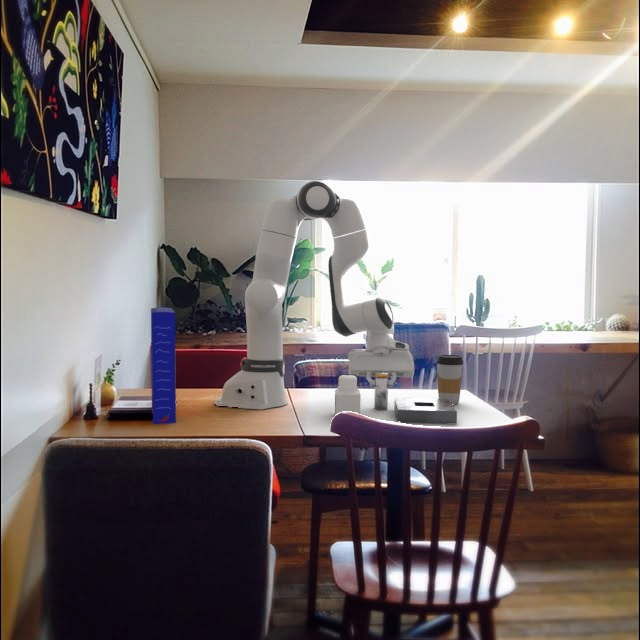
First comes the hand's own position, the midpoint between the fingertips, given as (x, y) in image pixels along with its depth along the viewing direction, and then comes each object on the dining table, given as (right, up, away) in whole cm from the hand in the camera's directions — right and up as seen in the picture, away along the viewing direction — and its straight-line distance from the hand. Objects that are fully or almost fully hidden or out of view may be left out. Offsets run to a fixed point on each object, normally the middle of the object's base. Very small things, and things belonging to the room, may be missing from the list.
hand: (381, 386), depth 183 cm
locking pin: (0, -7, +1) cm, 7 cm away
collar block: (+11, -8, -9) cm, 16 cm away
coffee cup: (+23, -7, +11) cm, 26 cm away
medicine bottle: (-11, -8, -9) cm, 16 cm away
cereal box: (-63, -7, -10) cm, 64 cm away
